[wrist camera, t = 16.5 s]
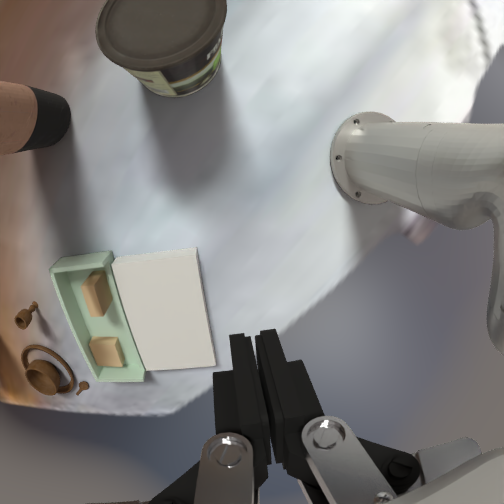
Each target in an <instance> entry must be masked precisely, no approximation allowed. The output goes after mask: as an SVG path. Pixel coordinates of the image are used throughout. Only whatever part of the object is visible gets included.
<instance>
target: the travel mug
mask: <svg viewBox="0 0 504 504" xmlns="http://www.w3.org/2000/svg"><path fill="white" fill-rule="evenodd" d="M69 122H70V108H69V105H68V103H67V101H66V100H65V99H64V98H63V97H61V96H59V95H57V94H54V93H51V92H47V91H44V90H40V89H37V88H33V87H30V86H26V85H21V84H15V83H9V82H3V81H0V155H6V154H12V153H17V152H22V151H27V150H32V149H37V148H43V147H48V146H51V145H53V144H55V143H57V142H58V141H59V140H60V139H61V138H62V137H63V136H64V134H65V133H66V131H67V129H68V126H69Z"/></svg>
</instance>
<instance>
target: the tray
mask: <svg viewBox="0 0 504 504" xmlns="http://www.w3.org/2000/svg"><path fill="white" fill-rule="evenodd" d="M113 262H114V257H113V253H112V251H104V252H97V253H90V254H83V255H75V256H68V257H61V258H60V259H59V260H58V261H57V262H56V263H55V264H54V265H53V266H51V267H50V268H49V272H50V275H51V278H52V281H53V284H54V287H55V290H56V292H57V295H58V298H59V301H60V303H61V306H62V308H63V311H64V314H65V316H66V318H67V321H68V323H69V326H70V328H71V330H72V333H73V335H74V337H75V339H76V342H77V344H78V346H79V348H80V350H81V352H82V354H83V356H84V358H85V360H86V362H87V364H88V366H89V368H90V370H91V372H92V374H93V376H94V378H95V380H96V382H144V379H145V374H146V368H145V366H144V363H143V361H142V358H141V356H140V353H139V350H138V348H137V345H136V342H135V340H134V337H133V334H132V331H131V328H130V325H129V322H128V319H127V316H126V313H125V310H124V307H123V304H122V300H121V297H120V294H119V290H118V287H117V284H116V280H115V276H114V273H113V269H112V265H111V264H112V263H113ZM101 270H105V273H106V276H107V280H108V284H109V287H110V291H111V294H112V297H113V300H112V302H111V304H110V306H109V308H108V309H107V311H106V313H105V315H104V316H103V317H91V316H90V313H89V310H88V308H87V305H86V302H85V299H84V296H83V293H82V290H81V285H82V284H83V283H84V281H85V280H86V279H87V278H88V276H89V275H90V274H91V273H92V271H101ZM93 336H98V337H118V339H119V342H120V345H121V348H122V351H123V354H124V357H125V360H124V364H123V367H112V366H97V363H96V361H95V358H94V356H93V353H92V351H91V348H90V346H89V343H90V341H91V339H92V337H93Z"/></svg>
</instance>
